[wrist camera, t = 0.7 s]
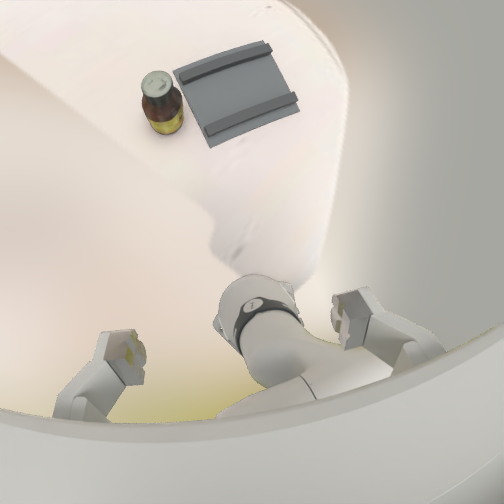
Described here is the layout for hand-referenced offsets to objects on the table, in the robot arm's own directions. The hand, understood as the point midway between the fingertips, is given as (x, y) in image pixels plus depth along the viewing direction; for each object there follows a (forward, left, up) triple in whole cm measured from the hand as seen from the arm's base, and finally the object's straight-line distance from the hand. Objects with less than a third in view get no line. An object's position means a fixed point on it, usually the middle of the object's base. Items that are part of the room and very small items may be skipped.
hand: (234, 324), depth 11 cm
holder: (+19, -18, -45) cm, 52 cm away
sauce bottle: (+19, -3, -46) cm, 49 cm away
